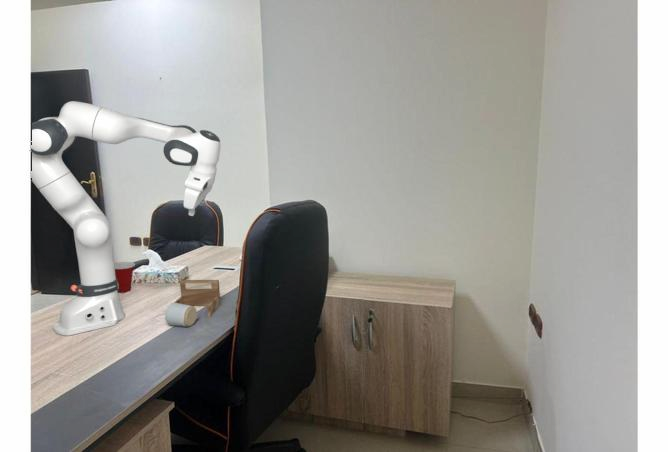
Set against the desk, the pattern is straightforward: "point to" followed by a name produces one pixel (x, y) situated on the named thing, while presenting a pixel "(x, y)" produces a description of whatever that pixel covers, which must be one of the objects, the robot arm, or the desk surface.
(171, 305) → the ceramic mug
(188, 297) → the display bay
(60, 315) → the robot arm
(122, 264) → the plastic cup
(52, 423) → the desk surface
